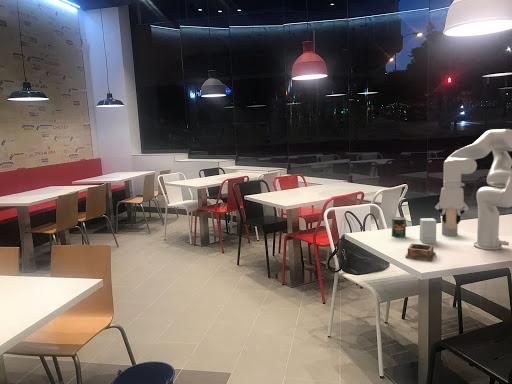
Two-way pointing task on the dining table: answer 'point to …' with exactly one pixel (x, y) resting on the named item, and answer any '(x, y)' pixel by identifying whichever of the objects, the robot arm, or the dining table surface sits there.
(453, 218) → the tan rectangular block
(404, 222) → the canned tomato
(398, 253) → the dining table surface
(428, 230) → the supplement box
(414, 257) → the brown wooden box
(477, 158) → the robot arm
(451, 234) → the cup
